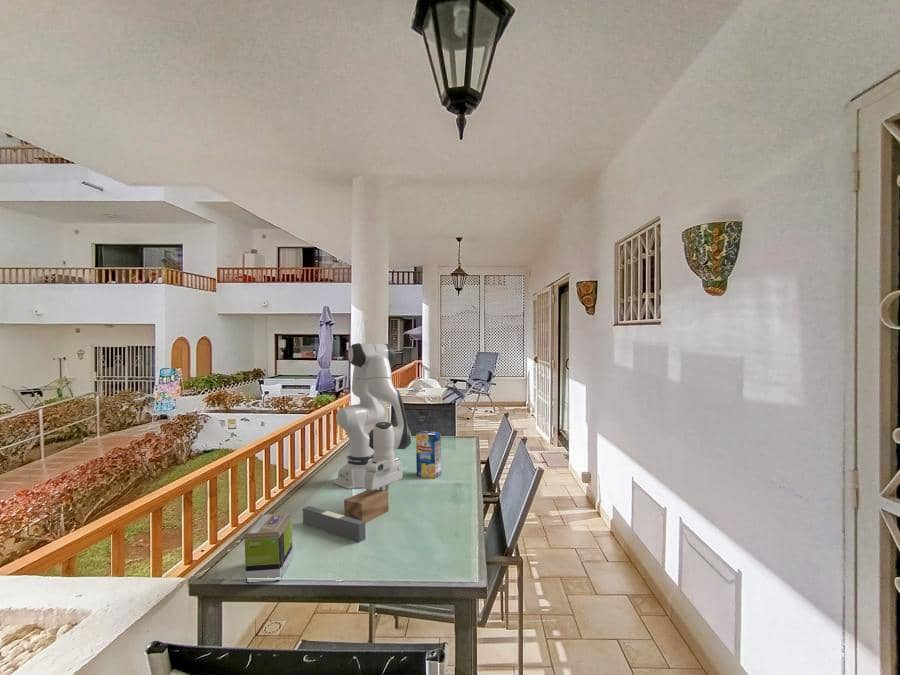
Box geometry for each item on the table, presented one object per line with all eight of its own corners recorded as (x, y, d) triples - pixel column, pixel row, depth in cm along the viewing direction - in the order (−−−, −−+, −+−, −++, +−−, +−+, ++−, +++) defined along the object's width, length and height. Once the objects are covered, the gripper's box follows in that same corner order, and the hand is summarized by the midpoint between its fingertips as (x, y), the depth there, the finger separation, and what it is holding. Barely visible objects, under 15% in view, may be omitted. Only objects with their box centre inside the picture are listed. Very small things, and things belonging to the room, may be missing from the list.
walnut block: (344, 520, 178) (344, 499, 178) (371, 507, 192) (371, 488, 192) (362, 524, 174) (361, 503, 174) (388, 511, 187) (388, 491, 187)
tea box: (261, 559, 147) (260, 513, 147) (293, 557, 148) (293, 511, 148) (244, 584, 132) (243, 532, 132) (280, 582, 133) (279, 530, 133)
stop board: (302, 524, 175) (302, 508, 175) (309, 521, 178) (309, 505, 178) (359, 542, 158) (359, 524, 158) (365, 538, 161) (365, 521, 161)
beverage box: (435, 478, 231) (434, 434, 232) (416, 476, 236) (415, 433, 237) (441, 474, 237) (440, 432, 238) (423, 472, 242) (422, 430, 243)
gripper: (394, 455, 202) (395, 487, 201) (361, 466, 184) (362, 501, 184) (405, 457, 198) (406, 489, 198) (373, 468, 181) (373, 504, 181)
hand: (384, 495), depth 191 cm, fingers closed
